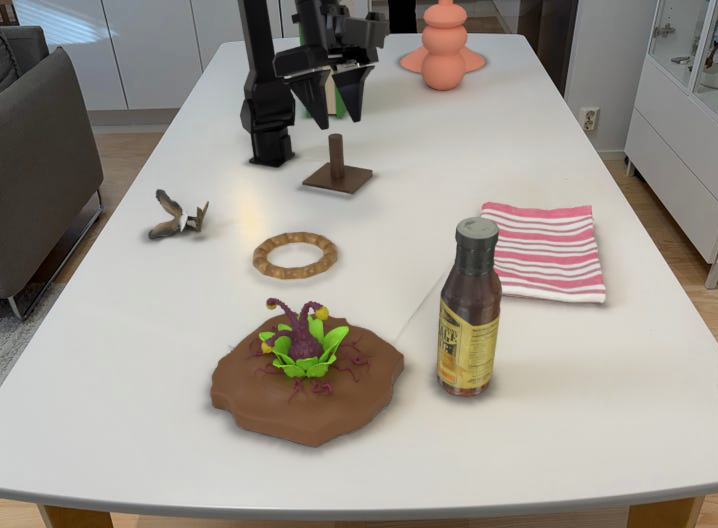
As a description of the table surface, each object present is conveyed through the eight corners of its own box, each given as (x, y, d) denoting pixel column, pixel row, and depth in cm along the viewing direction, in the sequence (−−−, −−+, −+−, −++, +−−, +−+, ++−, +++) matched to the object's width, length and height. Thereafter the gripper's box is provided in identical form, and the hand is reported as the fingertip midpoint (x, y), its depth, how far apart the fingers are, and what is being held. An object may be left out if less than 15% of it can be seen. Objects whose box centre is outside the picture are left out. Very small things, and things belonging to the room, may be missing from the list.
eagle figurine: (215, 214, 109) (161, 200, 110) (205, 190, 102) (147, 176, 103) (199, 256, 107) (144, 242, 107) (188, 236, 100) (129, 221, 101)
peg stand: (302, 188, 118) (298, 141, 113) (327, 168, 124) (324, 123, 119) (349, 197, 115) (346, 149, 110) (372, 176, 121) (371, 130, 116)
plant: (331, 471, 68) (322, 385, 61) (185, 403, 76) (163, 321, 69) (427, 360, 81) (429, 279, 74) (293, 313, 89) (284, 236, 82)
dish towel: (591, 222, 105) (595, 201, 103) (605, 309, 88) (610, 286, 86) (478, 216, 108) (480, 196, 106) (470, 299, 90) (472, 277, 88)
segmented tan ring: (237, 273, 97) (235, 261, 96) (282, 235, 105) (281, 223, 104) (311, 292, 93) (310, 280, 92) (352, 251, 101) (351, 239, 100)
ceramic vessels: (402, 49, 181) (402, -32, 169) (483, 49, 180) (488, -33, 168) (395, 94, 154) (394, 1, 142) (490, 93, 153) (497, 0, 141)
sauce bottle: (431, 366, 80) (437, 210, 67) (485, 361, 80) (500, 205, 68) (441, 404, 75) (449, 243, 62) (497, 399, 75) (517, 238, 63)
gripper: (334, -20, 78) (361, 122, 84) (401, -12, 94) (420, 108, 99) (257, 5, 84) (287, 137, 89) (331, 9, 99) (353, 122, 104)
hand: (341, 125), depth 95 cm, fingers open, 9 cm apart
